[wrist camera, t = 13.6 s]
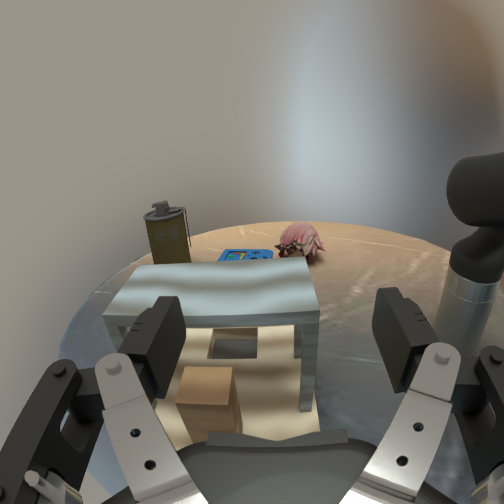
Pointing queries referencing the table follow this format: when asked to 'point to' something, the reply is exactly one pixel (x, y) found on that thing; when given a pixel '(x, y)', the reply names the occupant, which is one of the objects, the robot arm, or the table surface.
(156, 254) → the canister
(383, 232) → the table surface
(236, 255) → the handheld gaming device
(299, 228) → the toy
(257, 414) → the tunnel deck
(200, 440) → the walnut block
